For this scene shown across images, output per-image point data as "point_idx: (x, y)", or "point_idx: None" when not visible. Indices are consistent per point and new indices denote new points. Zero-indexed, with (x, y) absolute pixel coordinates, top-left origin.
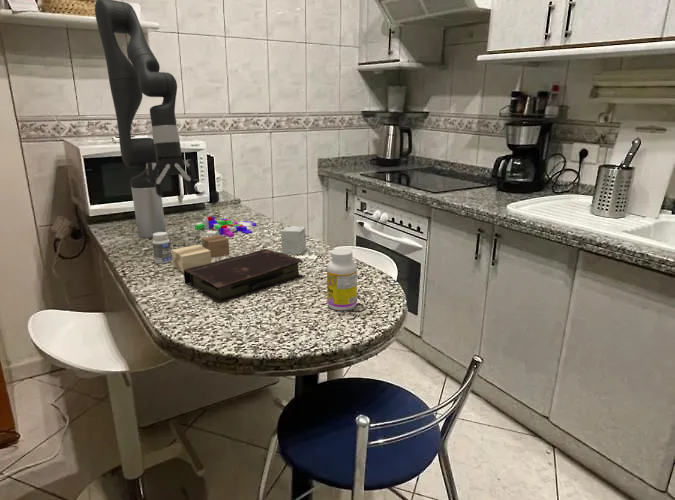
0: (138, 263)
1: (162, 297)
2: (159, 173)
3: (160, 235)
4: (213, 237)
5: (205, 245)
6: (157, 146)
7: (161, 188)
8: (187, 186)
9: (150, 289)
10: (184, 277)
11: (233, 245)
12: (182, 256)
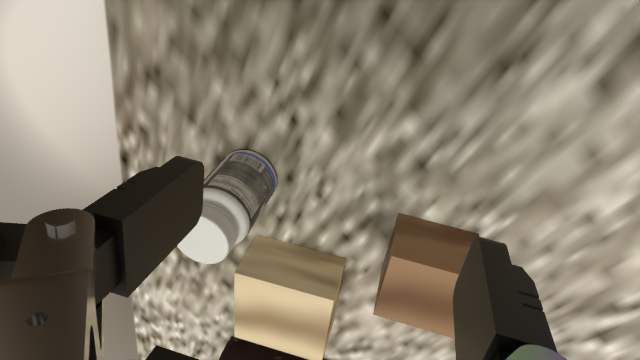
0: (175, 128)
1: (172, 346)
2: (17, 341)
3: (194, 258)
4: (430, 287)
5: (385, 266)
6: None
7: (154, 263)
8: (457, 349)
9: (162, 305)
10: (224, 349)
11: (557, 234)
12: (236, 336)
